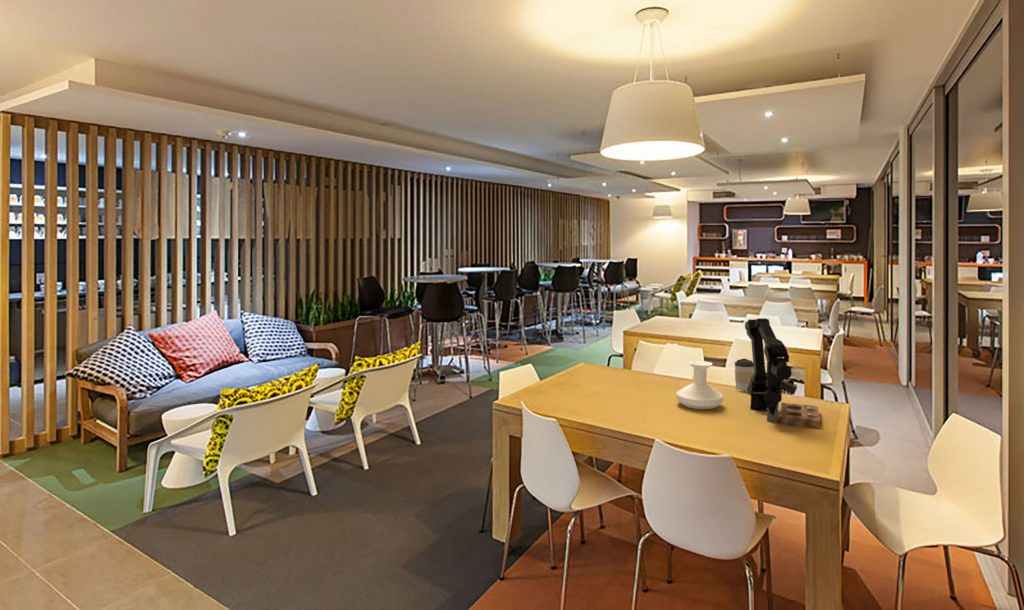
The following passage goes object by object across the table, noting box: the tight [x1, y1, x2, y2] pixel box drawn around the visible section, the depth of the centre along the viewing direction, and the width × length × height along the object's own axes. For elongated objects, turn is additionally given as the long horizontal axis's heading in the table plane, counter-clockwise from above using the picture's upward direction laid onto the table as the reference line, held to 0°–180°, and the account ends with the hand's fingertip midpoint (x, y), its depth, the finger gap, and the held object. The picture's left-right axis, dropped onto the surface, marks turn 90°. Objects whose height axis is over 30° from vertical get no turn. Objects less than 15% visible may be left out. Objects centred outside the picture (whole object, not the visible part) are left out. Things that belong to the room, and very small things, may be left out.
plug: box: [766, 402, 780, 423], centre depth 240 cm, size 4×4×8 cm
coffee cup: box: [734, 358, 754, 391], centre depth 287 cm, size 9×9×15 cm
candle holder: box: [676, 360, 724, 410], centre depth 261 cm, size 20×20×19 cm
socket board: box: [780, 402, 821, 429], centre depth 243 cm, size 14×22×4 cm, turn 155°
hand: (772, 411), depth 241 cm, fingers open, 9 cm apart
